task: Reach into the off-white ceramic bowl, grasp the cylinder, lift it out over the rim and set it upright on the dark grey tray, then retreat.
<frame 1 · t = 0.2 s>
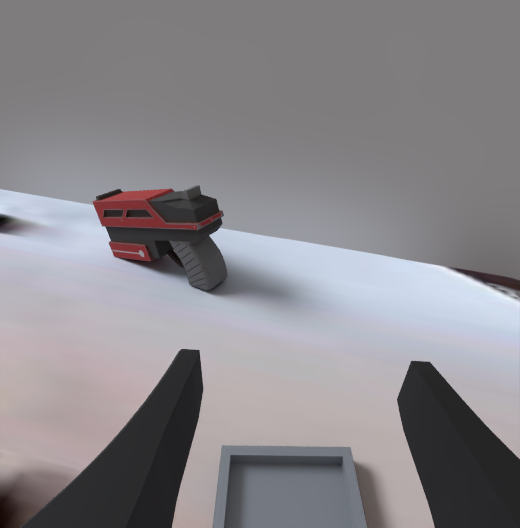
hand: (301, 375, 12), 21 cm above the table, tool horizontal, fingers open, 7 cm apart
toy gun: (164, 266, 59), on the table
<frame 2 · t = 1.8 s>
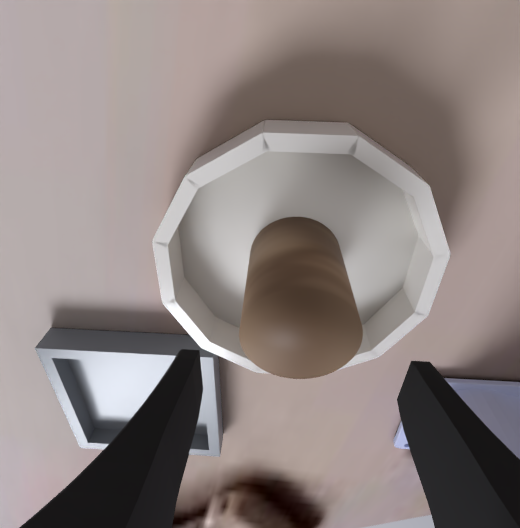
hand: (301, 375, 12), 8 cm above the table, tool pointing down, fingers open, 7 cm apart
bowl: (294, 253, 19), on the table
cylinder: (294, 257, 19), resting on bowl
tray: (146, 386, 26), on the table
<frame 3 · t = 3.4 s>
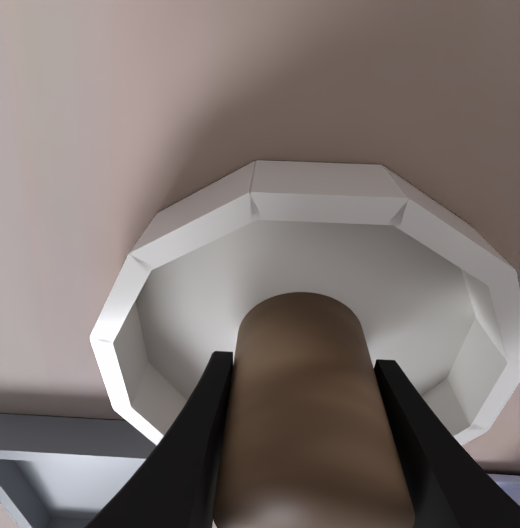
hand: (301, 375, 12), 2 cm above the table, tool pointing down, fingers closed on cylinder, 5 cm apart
bowl: (299, 334, 14), on the table
cylinder: (299, 341, 14), resting on bowl, touching gripper
tray: (111, 474, 21), on the table
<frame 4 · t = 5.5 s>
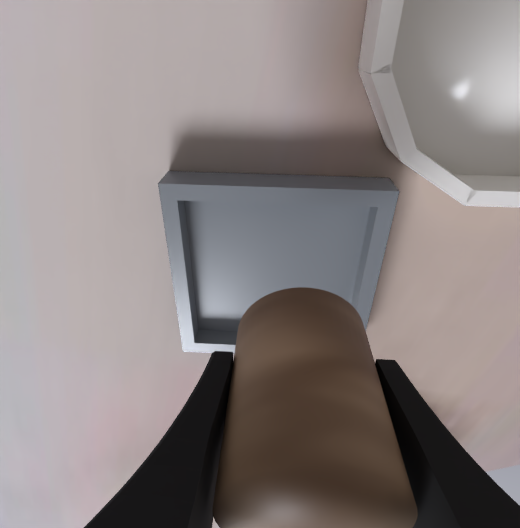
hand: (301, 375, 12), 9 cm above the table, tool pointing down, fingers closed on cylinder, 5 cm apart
cylinder: (300, 337, 13), point 7 cm above the table, touching gripper
tray: (273, 266, 20), on the table
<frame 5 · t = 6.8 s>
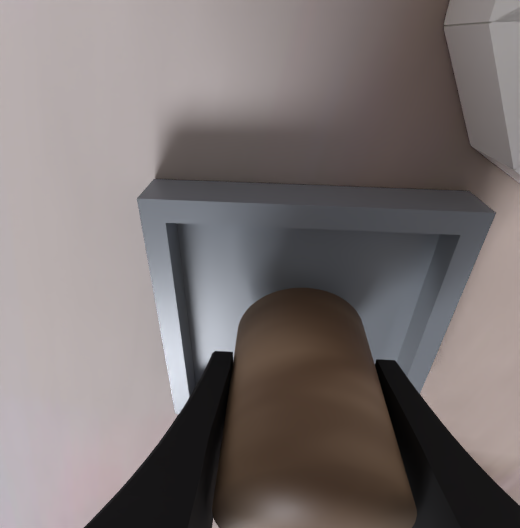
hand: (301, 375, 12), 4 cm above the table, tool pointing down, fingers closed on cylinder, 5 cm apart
cylinder: (299, 338, 13), point 2 cm above the table, touching gripper
tray: (297, 306, 15), on the table
when the fingers open (4 cm above the table, at t = 7.6 s): cylinder drops 1 cm, resting on tray.
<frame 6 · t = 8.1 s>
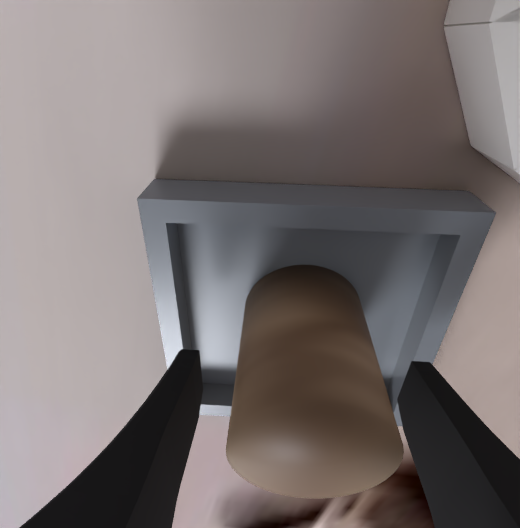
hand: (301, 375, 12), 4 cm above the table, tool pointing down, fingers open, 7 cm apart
cylinder: (302, 312, 15), point 1 cm above the table, touching tray
tray: (297, 306, 15), on the table
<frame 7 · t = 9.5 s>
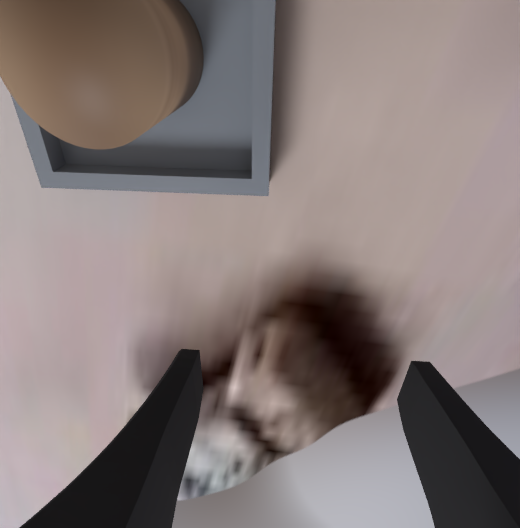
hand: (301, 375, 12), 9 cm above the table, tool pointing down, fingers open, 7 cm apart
cylinder: (146, 53, 15), point 1 cm above the table, touching tray
tray: (148, 57, 15), on the table
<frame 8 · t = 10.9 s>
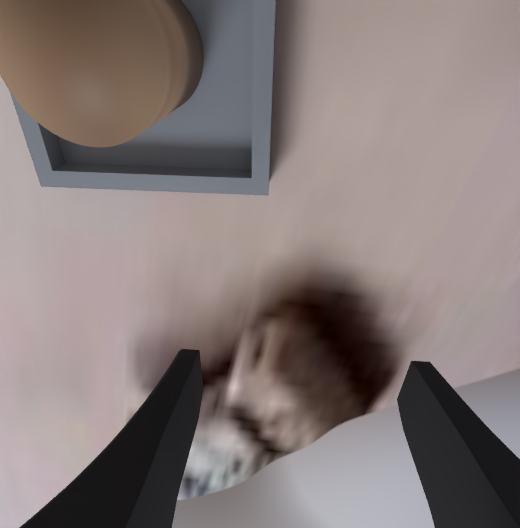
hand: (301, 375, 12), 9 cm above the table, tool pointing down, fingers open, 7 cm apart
cylinder: (146, 52, 15), point 1 cm above the table, touching tray
tray: (148, 56, 15), on the table
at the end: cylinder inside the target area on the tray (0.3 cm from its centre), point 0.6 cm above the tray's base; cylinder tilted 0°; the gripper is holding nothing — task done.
